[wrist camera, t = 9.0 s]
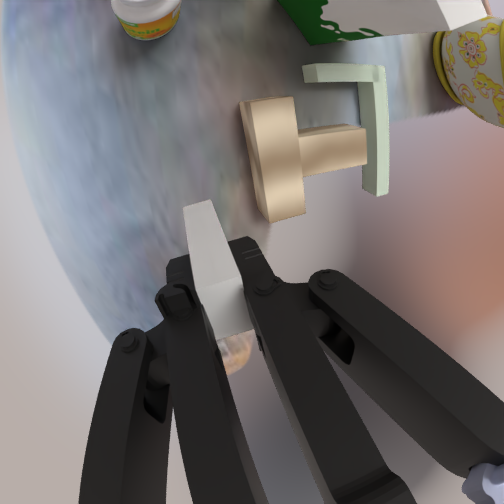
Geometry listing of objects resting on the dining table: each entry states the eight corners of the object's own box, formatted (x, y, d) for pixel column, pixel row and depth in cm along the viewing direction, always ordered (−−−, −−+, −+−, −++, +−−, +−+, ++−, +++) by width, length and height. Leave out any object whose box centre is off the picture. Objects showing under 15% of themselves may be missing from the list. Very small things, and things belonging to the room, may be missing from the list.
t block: (238, 102, 24) (249, 102, 21) (341, 91, 26) (363, 92, 23) (257, 208, 31) (269, 223, 27) (347, 185, 33) (366, 197, 29)
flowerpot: (484, 92, 30) (553, 115, 16) (444, 131, 32) (529, 166, 19) (453, 6, 20) (531, 13, 6) (403, 26, 22) (507, 28, 9)
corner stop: (301, 65, 23) (315, 63, 21) (367, 66, 25) (384, 66, 22) (316, 199, 32) (329, 209, 30) (373, 185, 34) (388, 193, 31)
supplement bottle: (116, 39, 17) (91, 10, 9) (133, -6, 15) (120, -50, 7) (170, 44, 19) (171, 13, 11) (186, -1, 17) (197, -45, 9)
